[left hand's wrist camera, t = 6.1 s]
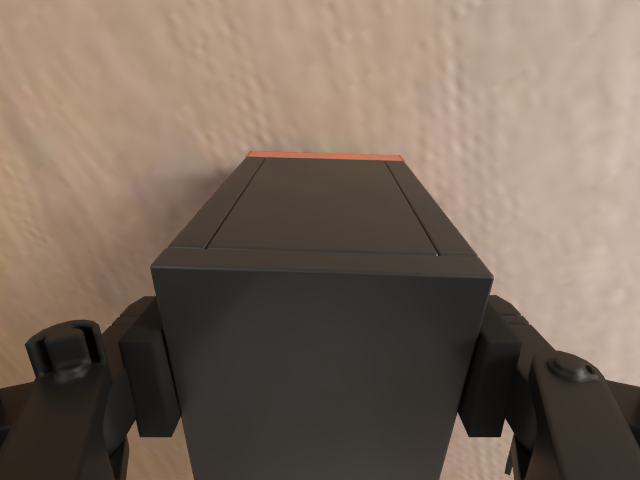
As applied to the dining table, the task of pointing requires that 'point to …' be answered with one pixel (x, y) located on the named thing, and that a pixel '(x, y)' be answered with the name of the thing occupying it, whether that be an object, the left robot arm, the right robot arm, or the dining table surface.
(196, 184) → the dining table surface
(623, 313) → the dining table surface
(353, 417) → the cabinet
